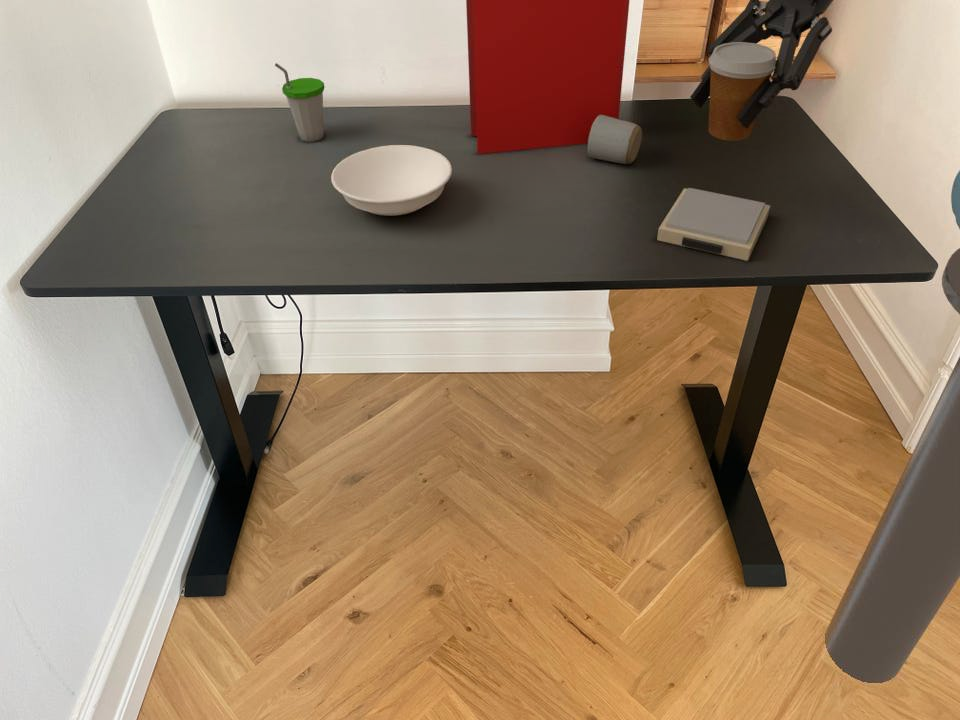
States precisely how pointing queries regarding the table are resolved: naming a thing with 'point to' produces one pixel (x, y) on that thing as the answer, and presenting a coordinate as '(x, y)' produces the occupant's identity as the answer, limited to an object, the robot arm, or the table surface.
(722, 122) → the disposable coffee cup
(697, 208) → the scale
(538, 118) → the book
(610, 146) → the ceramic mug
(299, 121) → the cup
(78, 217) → the table surface
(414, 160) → the bowl
